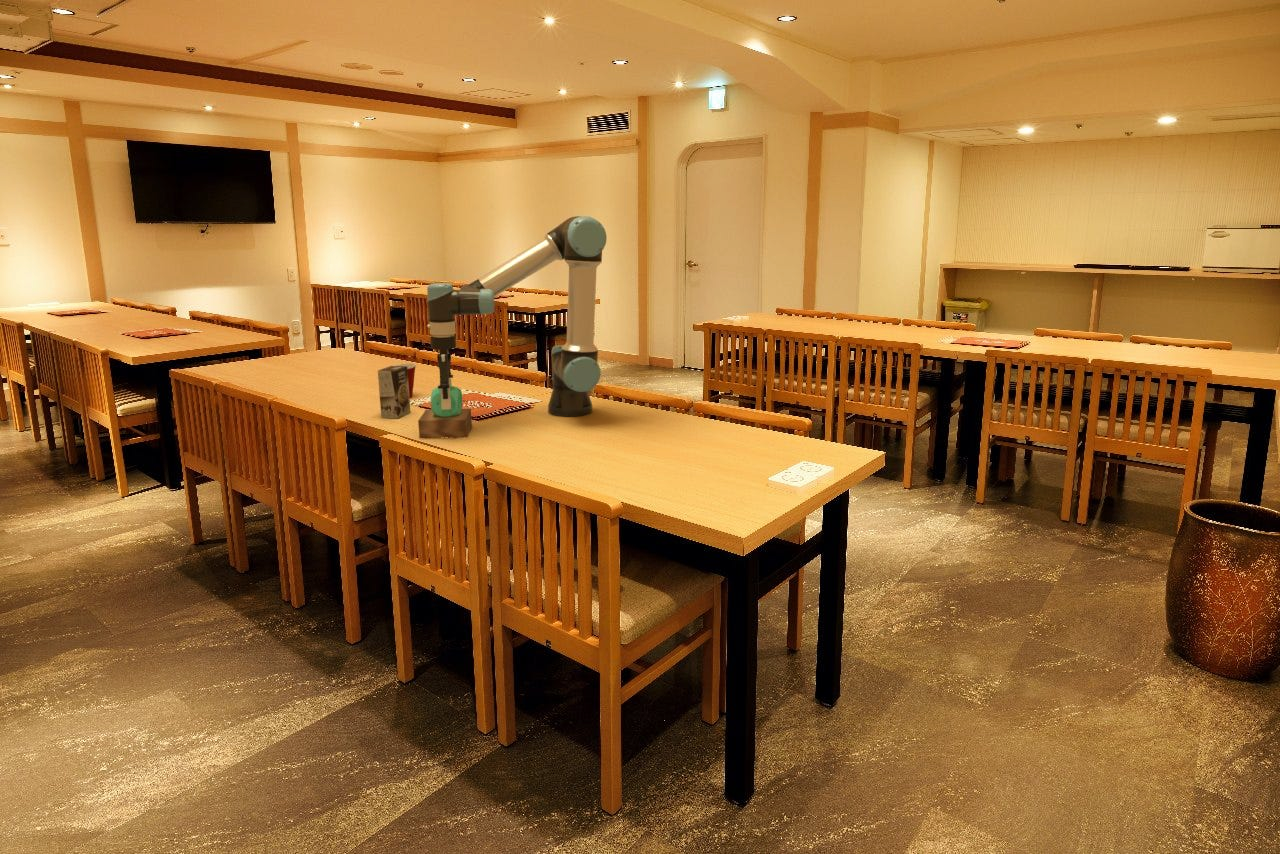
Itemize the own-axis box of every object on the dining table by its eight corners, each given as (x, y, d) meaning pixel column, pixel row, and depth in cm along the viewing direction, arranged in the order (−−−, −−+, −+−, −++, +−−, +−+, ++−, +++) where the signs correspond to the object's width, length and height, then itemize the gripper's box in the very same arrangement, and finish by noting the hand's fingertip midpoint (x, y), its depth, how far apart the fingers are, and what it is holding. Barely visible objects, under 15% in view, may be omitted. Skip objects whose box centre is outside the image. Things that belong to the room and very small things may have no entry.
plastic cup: (387, 395, 295) (385, 363, 292) (418, 393, 298) (415, 361, 295) (388, 401, 285) (385, 368, 282) (419, 399, 288) (416, 367, 285)
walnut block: (471, 426, 254) (470, 408, 252) (466, 438, 240) (465, 419, 239) (427, 427, 252) (425, 409, 251) (419, 439, 239) (418, 420, 237)
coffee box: (398, 419, 261) (394, 370, 257) (380, 418, 262) (376, 370, 258) (411, 412, 270) (408, 365, 266) (394, 411, 271) (390, 365, 267)
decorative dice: (431, 417, 241) (429, 391, 239) (437, 410, 249) (436, 385, 247) (457, 417, 241) (456, 391, 239) (463, 410, 249) (462, 386, 247)
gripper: (432, 329, 250) (436, 395, 256) (427, 342, 227) (432, 414, 232) (456, 329, 251) (460, 394, 257) (454, 341, 228) (458, 413, 234)
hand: (447, 404), depth 245 cm, fingers open, 13 cm apart
